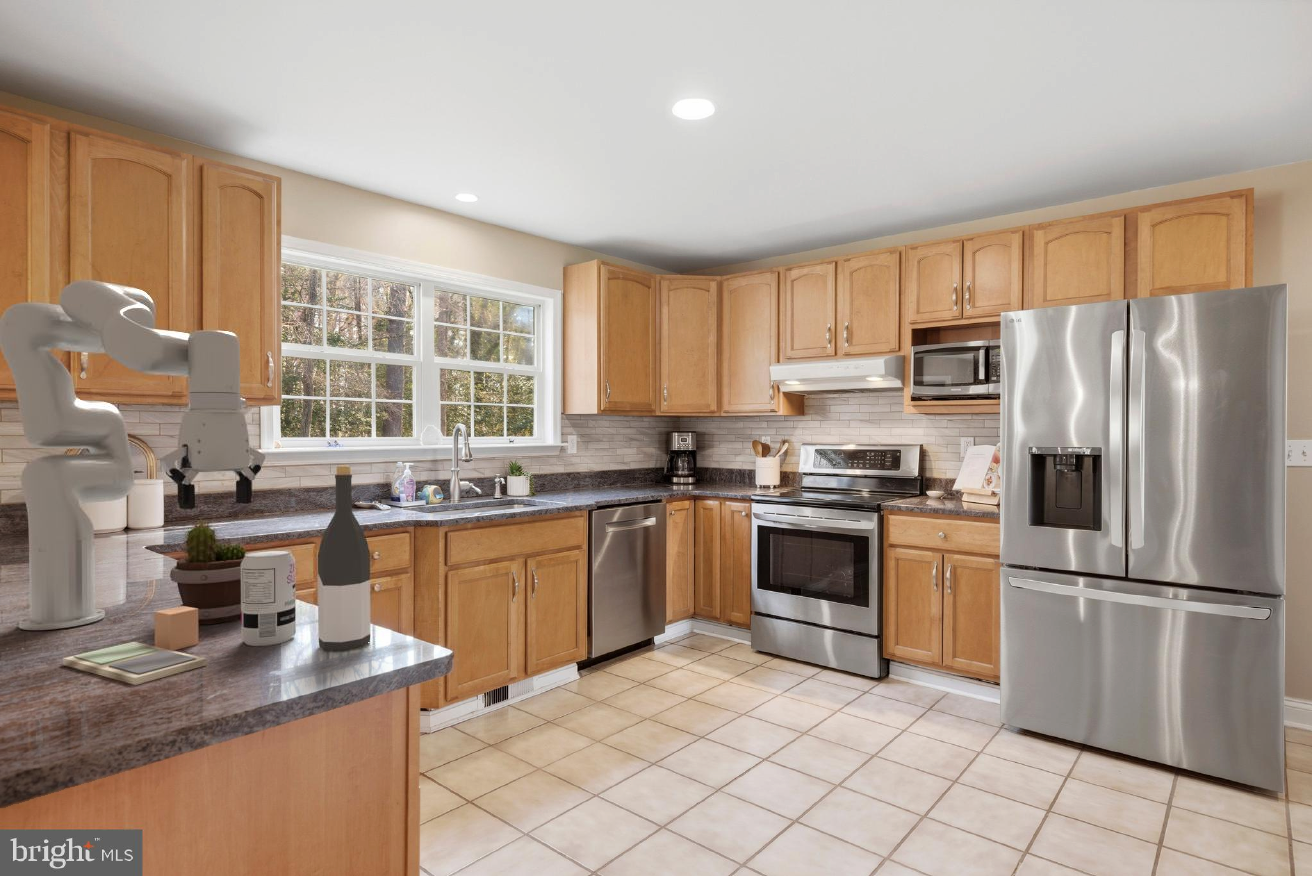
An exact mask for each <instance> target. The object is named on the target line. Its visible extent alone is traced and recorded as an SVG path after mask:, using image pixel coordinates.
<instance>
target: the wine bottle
mask: <svg viewBox="0 0 1312 876" xmlns="http://www.w3.org/2000/svg"><path fill="white" fill-rule="evenodd" d="M352 478H353V474H351V465H337V466H336V474H334V479H335V513H334V514H333V516H332V518H331V520H330V522H329V524H328V526H327V527H326V529H325V531H324V533H323V536H322V539H321V541H320V545H319V548H318V552H317V603H318V604H317V609H318V611H317V612H318V613H317V614H318V615H317V618H318V619H317V620H318V622H317V623H318V624H317V625H318V633H317V635H318V639H317V640H318V647H319V648H320V649H321V650H322V649H323V651H324V652H341V651H342V652H347V651H351V649H353V650H357V649H362V648H364V647H365V646H367V645H369V644H368V642H370V643H371V551H370V547H369V544H368V540H367V538H366V536H365V533H364V530H363V528H362V526H361V524H360V523H359V522H358V519H357V518H356V516H355V514H354V512H353V510H352V509H353V508H352V507H353V506H352V505H353V504H352V497H353V496H352V495H353V494H352V493H353V492H352ZM366 644H367V645H366ZM364 645H365V646H364ZM361 647H362V648H361Z"/></svg>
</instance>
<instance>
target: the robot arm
mask: <svg viewBox="0 0 1312 876" xmlns="http://www.w3.org/2000/svg"><path fill="white" fill-rule="evenodd" d="M59 295H60V296H59V304H54V303H45V302H32V301H31V302H20V303H16V304H13V305H11V306H9V307H8V308H6V309H5V311H4V312H3V314H2V316H1V318H0V350H1V353H2V355H3V358H4V360H5V361H6V363H7V366H8V367H9V370H10V372H11V375H12V377H13V381H14V385H15V392H16V397H17V403H18V410H19V414H20V419H21V425H22V429H23V430H22V431H23V434H24V437H25V440H27V442H28V443H29V444H30V445H31V446H33V447H35V448H39V449H48V450H49V449H50V450H67V449H68V450H70V449H71V450H72V449H75V450H76V449H77V450H78V449H88V452H89V453H74V454H73V453H65V454H64V453H63V454H60V453H59V454H50V455H44V456H40V457H37V458H34V459H33V460H31V461H29V462H28V463H27V464H26V465H25V466H24V468H22V472H21V476H20V482H21V483H20V484H21V488H22V493H23V497H24V501H25V506H26V511H27V520H28V521H27V522H28V524H27V525H28V547H29V548H28V549H29V550H28V554H29V555H28V557H29V558H28V559H29V562H28V563H29V565H28V566H29V568H28V569H29V571H28V573H29V616H27V617H24V618H22V619H20V620H19V621H18V628H19V629H20V630H26V631H49V630H59V629H67V628H73V627H79V626H84V625H87V624H92V623H95V622H98V621H100V620H102V619H104V618H105V616H106V612H105V610H104V609H102V608H96V607H95V599H96V598H95V597H96V595H95V589H96V587H95V531H94V530H95V529H94V524H93V522H92V520H91V519H90V517H89V515H88V514H87V513H86V512H85V511H84V510H83V508H82V507H81V505H84V504H91V503H93V504H94V503H104V502H113V501H119V500H121V499H124V498H126V497H127V496H128V495H130V493H131V492H132V490H133V487H134V483H135V471H134V470H135V469H134V463H133V459H132V458H133V457H132V453H131V448H130V441H129V436H128V431H127V425H126V422H125V418H124V416H123V415H122V413H121V411H120V410H119V409H118V408H117V407H116V406H115V405H113V404H111V403H110V402H106V401H102V400H88V399H87V400H85V399H79V398H78V397H77V394H76V391H75V386H74V380H73V377H72V375H71V373H70V371H69V370H68V369H67V367H66V366H65V365H64V364H63V362H62V361H60V360H59V358H57V357H56V356H55V355H54V354H52V352H51V350H56V351H64V352H65V351H66V352H77V353H85V354H86V353H87V354H106V355H107V356H108V357H109V358H110V359H112V360H113V361H115V362H117V363H119V364H120V365H122V366H124V367H125V368H128V369H130V370H132V371H134V372H137V373H141V374H146V375H160V376H173V377H175V376H176V377H186V378H187V377H188V379H187V381H188V383H187V384H188V411H187V412H183V414H182V417H181V422H180V426H179V430H178V440H177V449H174V450H173V451H171V452H169V453H167V454H165V455H164V456H162V457H160V458H159V463H160V464H161V466H162V468H163V469H164V471H165V474H166V476H167V477H169V478H170V479H171V480H172V481H173V484H175V485H177V487H176V488H177V504H178V506H179V507H178V508H179V509H182V510H183V509H184V510H194V509H195V507H196V487H195V484H194V483H192V482H193V480H194V479H195V478H196V477H197V476H198V475H199V473H209V472H210V473H211V472H212V473H215V472H231V471H232V472H233V473H234V474H235V476H236V477H237V478H239V479H238V480H237V479H236V481H235V501H236V503H237V504H243V505H244V504H245V505H249V504H252V497H253V484H252V483H253V481H254V480H256V476H257V474H259V472H260V471H261V469H262V466H263V464H264V462H265V460H266V455H265V454H264V453H262V452H260V451H259V450H256V449H254V448H252V447H250V438H249V431H248V425H247V421H246V420H247V419H246V418H245V417H246V416H245V413H243V412H241V410H242V407H243V408H244V407H246V406H247V404H248V403H247V400H246V398H242V395H241V353H240V352H241V345H240V339H239V337H238V336H237V334H236V333H233V332H230V331H224V330H216V329H214V330H213V329H204V330H202V329H201V330H195V331H192V332H191V333H187V332H186V333H185V332H181V331H174V330H167V329H157V328H156V320H155V319H156V313H157V312H156V305H155V303H154V301H153V299H152V298H151V297H150V295H148V294H147V293H146V292H145V291H143V290H142V289H140V288H139V289H138V288H136V287H132V286H126V285H121V284H116V283H110V282H106V281H105V282H104V281H100V280H91V279H88V280H85V279H84V280H83V279H81V280H76V281H73V282H71V283H69V284H67V285H66V286H64V288H63V289H62V290H61V292H60V293H59ZM250 458H251V459H252V461H251V464H250V460H251V459H250ZM176 464H177V465H176Z"/></svg>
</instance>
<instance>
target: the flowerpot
mask: <svg viewBox="0 0 1312 876" xmlns="http://www.w3.org/2000/svg"><path fill="white" fill-rule="evenodd" d="M193 520H194V522H192V523H193V524H190V525H191V529H189V527H187V530H185V531H184V534H183V537H184V538H185V539H184V538H182V544H183V547H184V548H183V550H181V552H182V553H183V555H184V556H185V557H181V558H180V559H177V561H176V565H175V566H173V567H172V568H171V569H170V573H169V578H170V580H171V581H172V582H174V583H176V584H177V589H178V594H179V596H180V599H181V602H182V604H180V605H179V606H186V607H192V608H197V609H198V625H215V624H216V625H217V624H222V623H228V622H233V621H237V620H238V619H241V563H242V561H243V559H244V557H245V554H247V553H248V552H246V551H245V543H242V545H243V547H242V545H241V544H238V545H237V543H238V542H239V540H237V541H236V542H232V543H231V544H230V545H228V542H224V544H221V543H220V541H221V539H220V538H218V535H217V534H220V533H219V531H217V530H218V529H216V527H214V528H212V525H211V524H209V520H206V519H205V520H202V519H201V517H200V516H199V520H200V521H199V520H197V519H193ZM216 532H217V533H216ZM219 543H220V544H219ZM225 546H226V547H225Z"/></svg>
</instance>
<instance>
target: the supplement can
mask: <svg viewBox="0 0 1312 876" xmlns="http://www.w3.org/2000/svg"><path fill="white" fill-rule="evenodd" d="M246 553H247V554H245V557H244V559H243V561H242V563H241V618H240V623H241V625H240V633H241V634H240V635H241V637H240V638H241V641H242V642H244V643H245V645H247V646H250V647H251V646H253V647H267V646H273V645H279V644H282V643H285V642H288V641H290V640H292V637H294V636H295V635H296V633H297V632H296V631H297V627H296V626H297V623H296V620H297V619H296V618H297V617H296V606H297V605H296V559H295V557H294V555H293V554H292V551H291V550H288V549H269V550H268V549H267V550H257V551H251V552H250V551H249V552H246Z"/></svg>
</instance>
